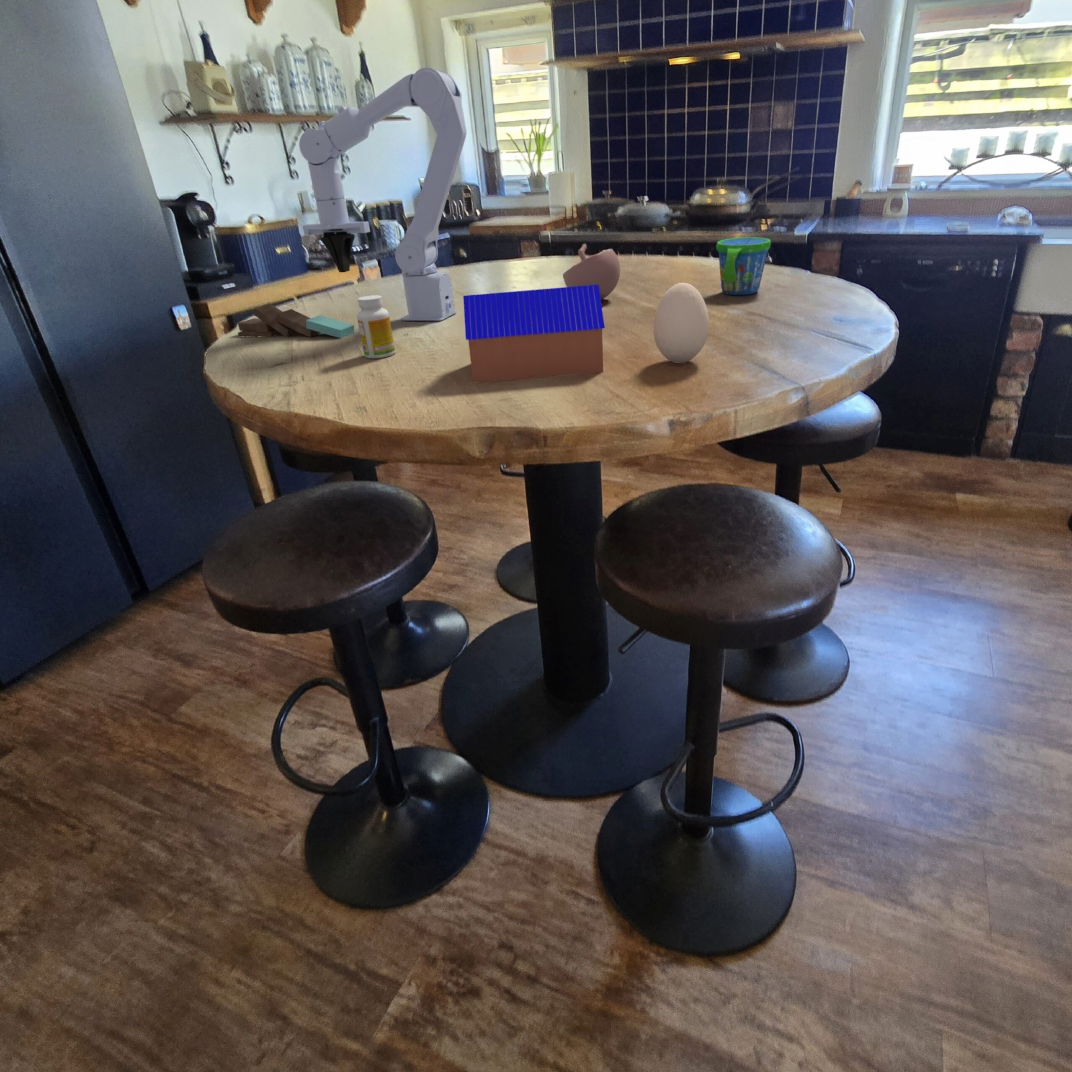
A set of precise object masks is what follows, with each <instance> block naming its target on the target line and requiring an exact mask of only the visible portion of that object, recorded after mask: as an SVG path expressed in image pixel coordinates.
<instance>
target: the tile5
mask: <svg viewBox="0 0 1072 1072" xmlns="http://www.w3.org/2000/svg"><path fill="white" fill-rule="evenodd" d="M279 333H280V332H279V331H277V330H274V331H271V332H253V331H239V332H237V335H238V337H239V336H252V337H251V338H259V337H258V336H265V337H264V338H273V337H275V336H274V335H276V336H278V335H280V334H279ZM277 334H278V335H277ZM253 336H255V337H253ZM272 336H273V337H272Z"/></svg>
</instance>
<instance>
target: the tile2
mask: <svg viewBox="0 0 1072 1072" xmlns="http://www.w3.org/2000/svg"><path fill="white" fill-rule="evenodd" d="M311 318H312V317H309V316H307V315H305V314H303V313H300V312H298V311H296V310H294V309H292V308H290V309H287V310H284V311H282V312H281V313H278V314H277V320H276V321H277V322H279V323H281V324H283V325H285V326H287V327H289V328H291V329H293V330H296V331H298V332H297V333H300V334H302V335H304V336H306V337H309V338H311V337H315V336H316V335H319V333H320V334H322V333H321V332H318V331H314V330H311V329H308V328H306V320H308V319H311ZM314 335H315V336H314Z"/></svg>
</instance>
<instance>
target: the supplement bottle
mask: <svg viewBox="0 0 1072 1072" xmlns="http://www.w3.org/2000/svg"><path fill="white" fill-rule="evenodd" d="M357 303H358V307H359V308H360V311H358V313H357V314H356V318H357V319H356V320H357V324H358V331H359V335H360V340H361V345H362V350H363V354H364V356H365V358H367V359H373V360H375V359H384V358H388V357H391V356H393V355H394V354H395V353H396V347H395V342H394V336H393V331H392V326H391V325H392V324H391V320H390V319H391V318H390V313H389V311H388V310H387V309H386V308H383V305H384V301H383V297H382V295H380V294H379V295H376V294H375V295H374V294H372V295H365V296H360V297H358V298H357Z"/></svg>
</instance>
